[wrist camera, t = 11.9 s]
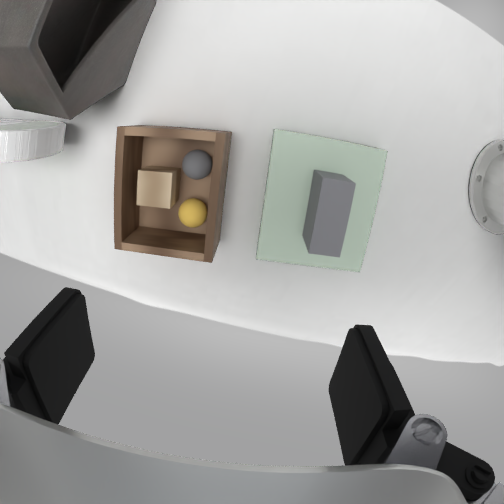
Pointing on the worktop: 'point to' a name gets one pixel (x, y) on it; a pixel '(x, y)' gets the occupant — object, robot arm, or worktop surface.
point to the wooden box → (207, 190)
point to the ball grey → (197, 164)
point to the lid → (319, 201)
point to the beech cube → (158, 186)
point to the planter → (67, 51)
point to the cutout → (30, 139)
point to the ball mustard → (192, 212)
